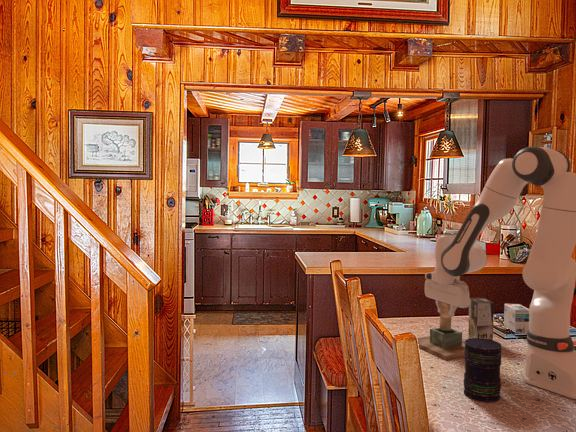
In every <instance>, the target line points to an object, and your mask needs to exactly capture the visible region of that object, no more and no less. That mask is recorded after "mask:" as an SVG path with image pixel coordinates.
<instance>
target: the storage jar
mask: <svg viewBox="0 0 576 432" xmlns="http://www.w3.org/2000/svg"><path fill="white" fill-rule="evenodd" d="M464 341H465V350H464V355H465V357H463V359H464V363H465V365H464V373H463V374H464V375H463V395H464V396H465V397H467V398H468V399H470V400H473V401H476V402H480V403H481V402H482V403H496V402H498V401H500V399H501V395H500V394H501V390H502V384H501V380H502V379H501V366H502V359H503V358H502V344H501V343H500V342H498V341H496V340H489V339H482V338H471V339H469V338H468V339H465V340H464Z"/></svg>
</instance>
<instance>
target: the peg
mask: <svg viewBox="0 0 576 432" xmlns="http://www.w3.org/2000/svg"><path fill="white" fill-rule="evenodd" d="M450 309H451V307H450V304H447V303H444V302H440V313H439V328H440V330H443V331H450V330H451V328H452V317H450V316H448V311H450Z"/></svg>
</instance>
